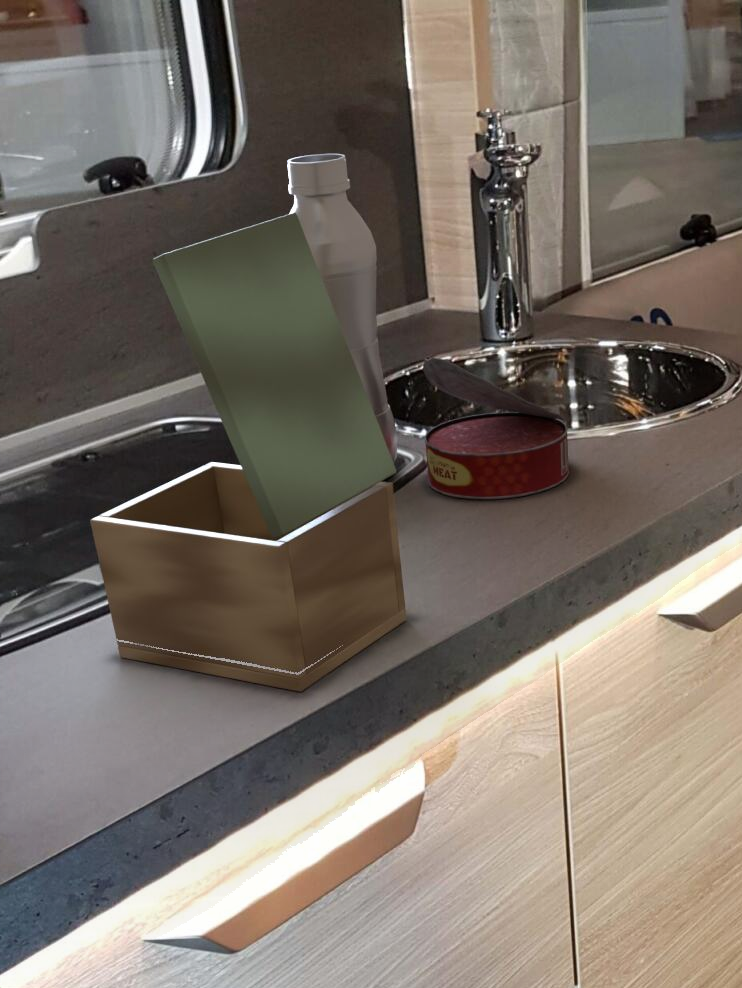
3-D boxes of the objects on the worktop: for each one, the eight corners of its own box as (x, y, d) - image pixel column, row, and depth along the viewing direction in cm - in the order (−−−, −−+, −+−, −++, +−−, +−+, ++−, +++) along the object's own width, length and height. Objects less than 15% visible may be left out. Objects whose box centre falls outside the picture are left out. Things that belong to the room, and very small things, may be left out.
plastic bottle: (417, 479, 108) (387, 155, 96) (329, 500, 106) (287, 170, 94) (377, 458, 113) (343, 146, 101) (292, 478, 110) (247, 160, 98)
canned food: (439, 534, 112) (413, 392, 111) (575, 506, 112) (550, 364, 110) (430, 506, 101) (400, 348, 100) (581, 476, 101) (554, 317, 99)
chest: (119, 657, 86) (89, 519, 81) (233, 591, 93) (211, 461, 88) (300, 692, 80) (279, 546, 76) (407, 619, 87) (393, 482, 83)
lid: (151, 259, 70) (163, 253, 70) (285, 217, 77) (296, 211, 77) (271, 539, 76) (283, 535, 75) (386, 476, 83) (397, 472, 82)
